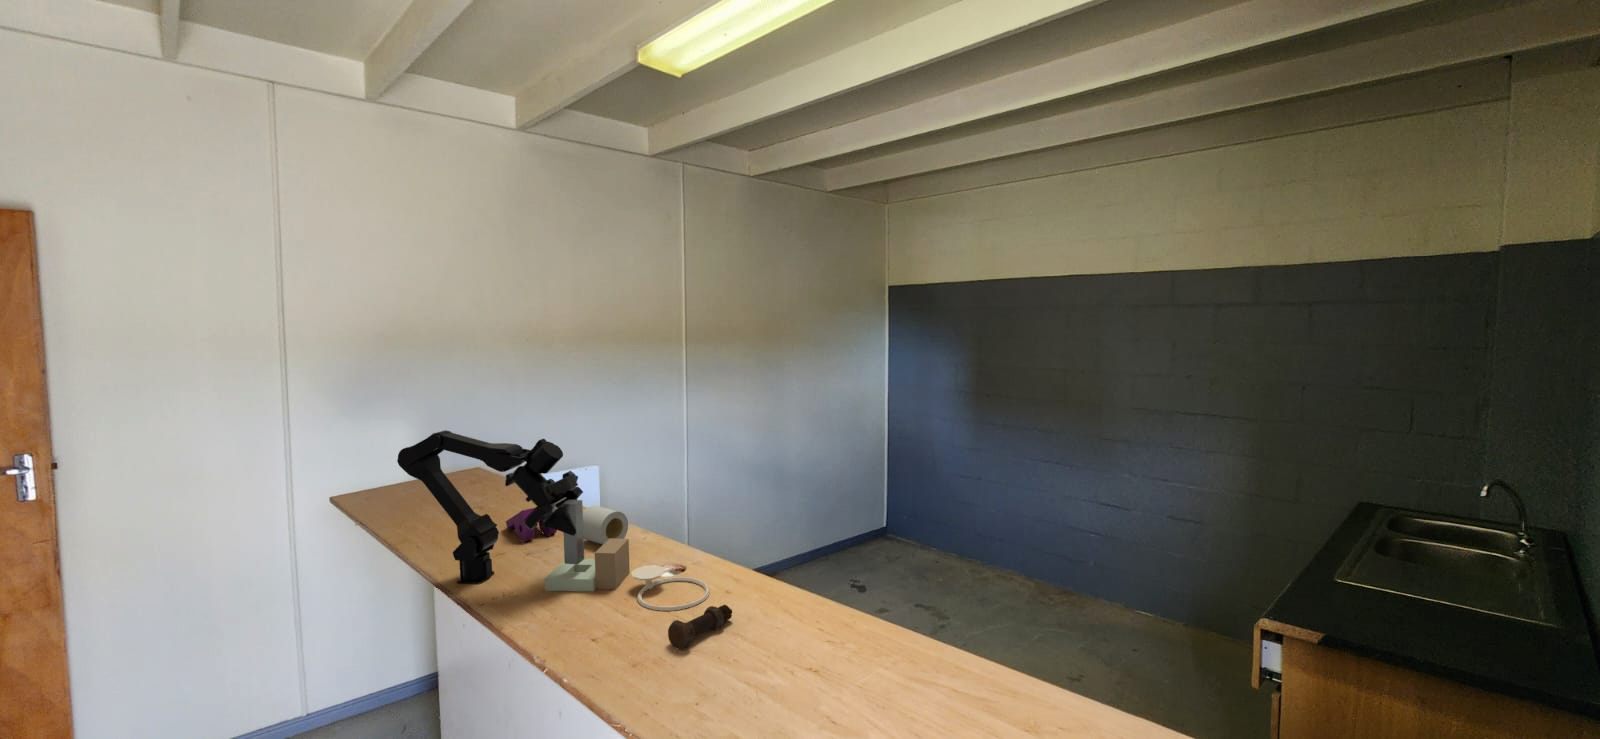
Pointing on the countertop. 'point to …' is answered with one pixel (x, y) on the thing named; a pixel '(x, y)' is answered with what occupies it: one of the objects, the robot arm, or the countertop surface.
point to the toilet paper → (603, 524)
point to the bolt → (697, 625)
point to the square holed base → (593, 570)
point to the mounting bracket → (522, 529)
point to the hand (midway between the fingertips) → (578, 531)
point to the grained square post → (576, 542)
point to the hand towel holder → (655, 572)
